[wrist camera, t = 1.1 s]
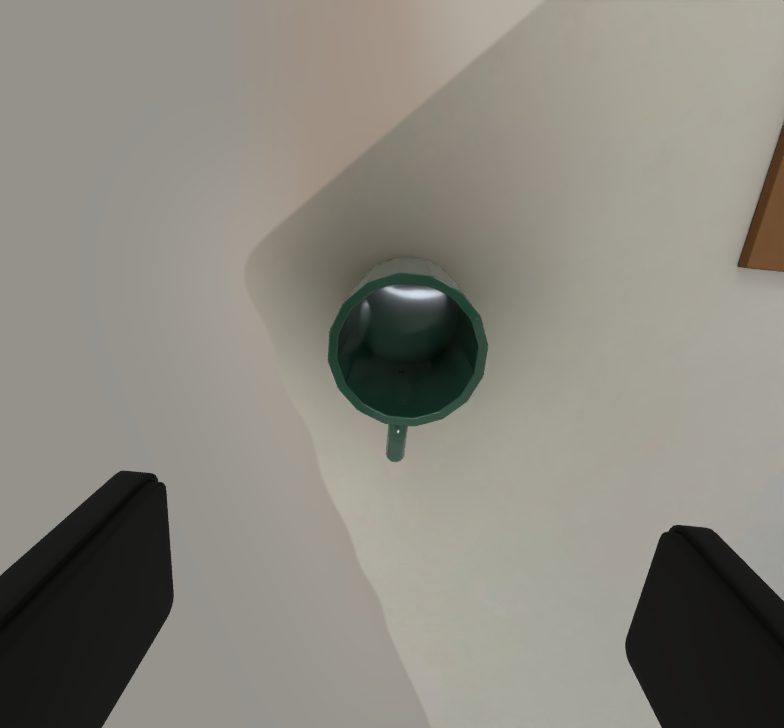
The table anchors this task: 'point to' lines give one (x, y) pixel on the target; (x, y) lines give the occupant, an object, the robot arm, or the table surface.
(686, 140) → the table surface
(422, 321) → the mug
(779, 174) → the cork mat
